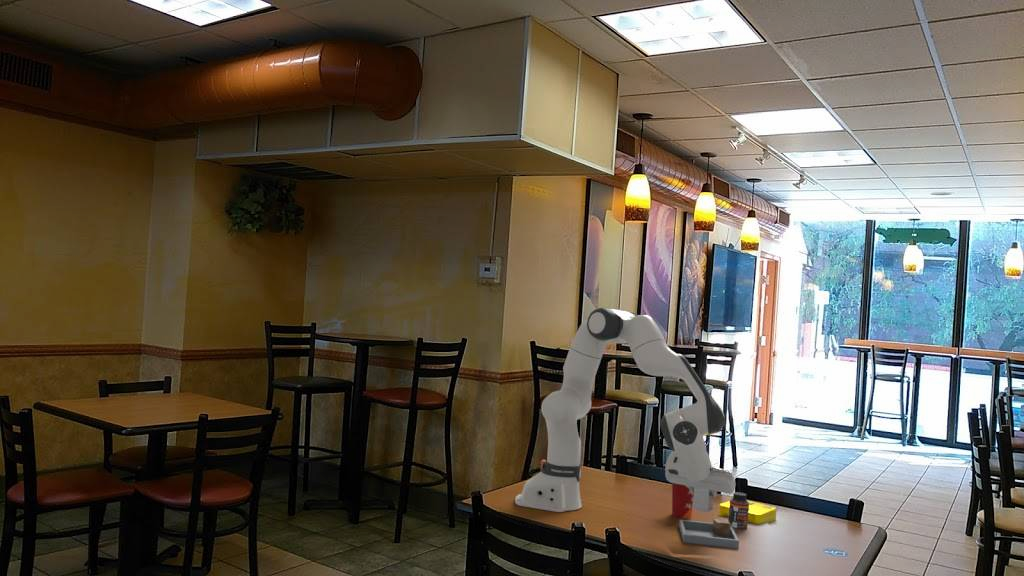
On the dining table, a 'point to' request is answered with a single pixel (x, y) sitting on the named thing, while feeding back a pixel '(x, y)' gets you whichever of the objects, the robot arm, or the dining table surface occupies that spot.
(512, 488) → the dining table surface
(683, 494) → the coffee cup
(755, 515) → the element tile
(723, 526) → the walnut block
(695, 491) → the steel part
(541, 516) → the dining table surface
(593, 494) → the dining table surface
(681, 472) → the robot arm
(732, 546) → the tray
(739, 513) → the supplement bottle
